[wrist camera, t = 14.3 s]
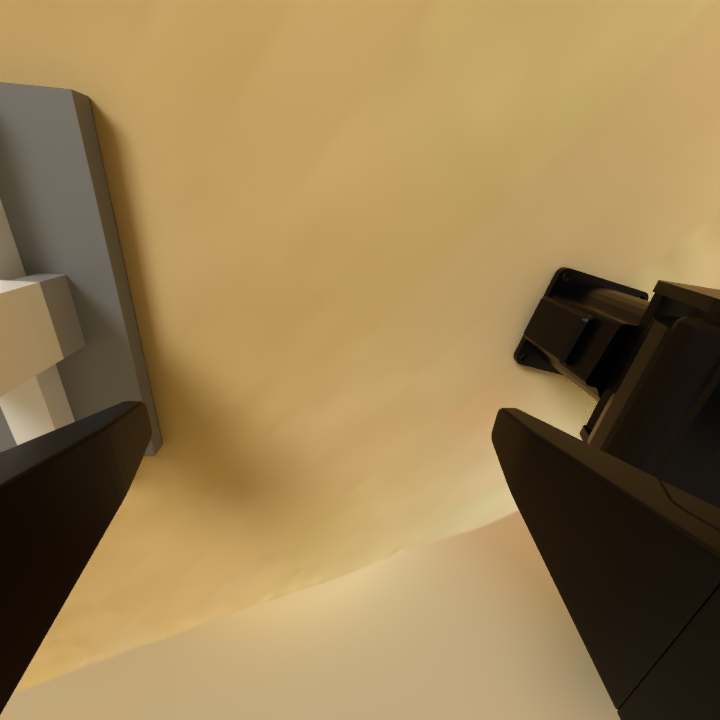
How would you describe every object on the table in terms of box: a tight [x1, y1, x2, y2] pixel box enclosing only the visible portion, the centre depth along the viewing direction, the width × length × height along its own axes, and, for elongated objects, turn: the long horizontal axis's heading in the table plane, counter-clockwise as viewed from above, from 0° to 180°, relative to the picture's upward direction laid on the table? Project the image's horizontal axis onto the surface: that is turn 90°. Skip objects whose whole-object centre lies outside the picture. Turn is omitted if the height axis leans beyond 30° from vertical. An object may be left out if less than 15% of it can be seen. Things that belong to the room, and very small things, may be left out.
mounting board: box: [0, 82, 162, 456], centre depth 18 cm, size 20×11×3 cm, turn 177°
